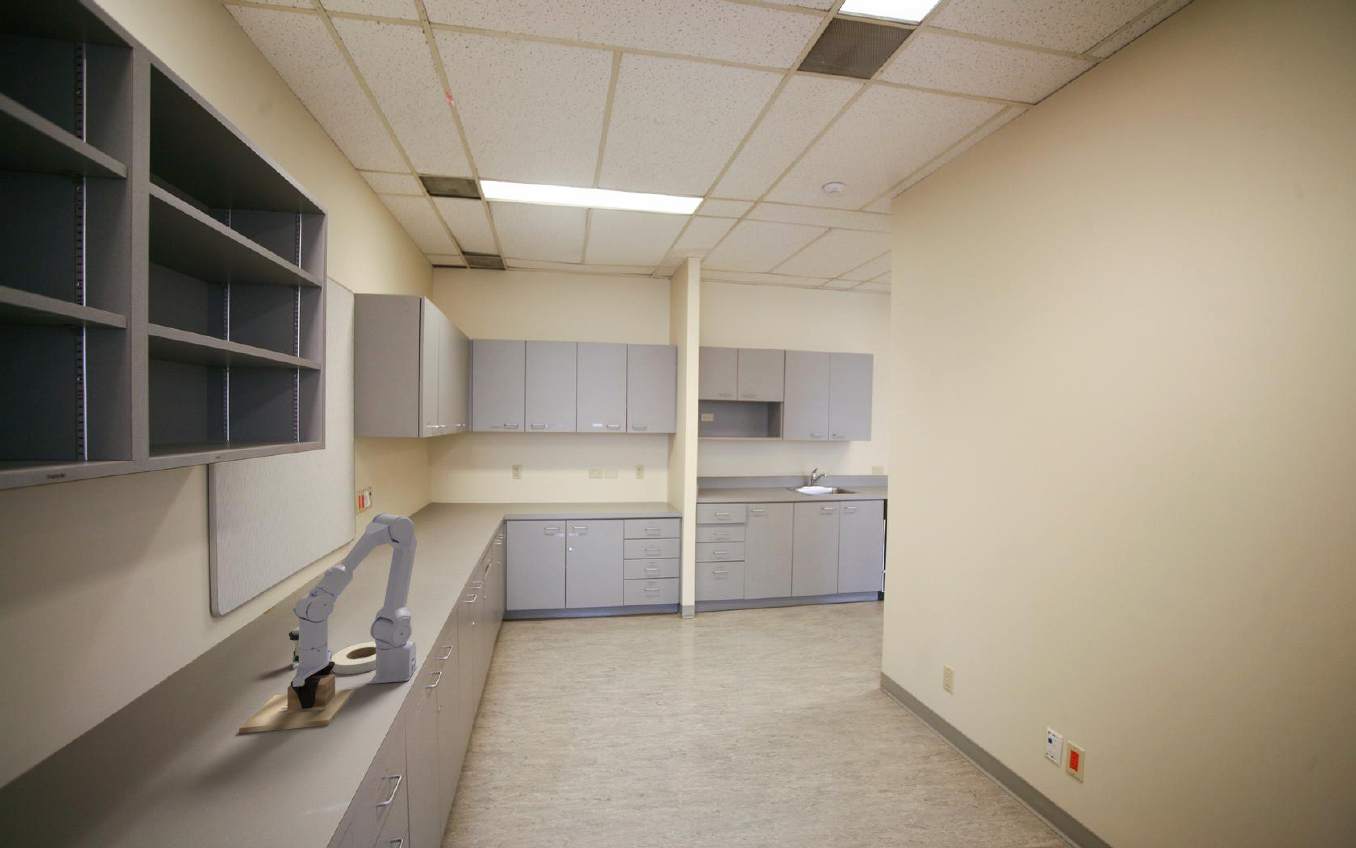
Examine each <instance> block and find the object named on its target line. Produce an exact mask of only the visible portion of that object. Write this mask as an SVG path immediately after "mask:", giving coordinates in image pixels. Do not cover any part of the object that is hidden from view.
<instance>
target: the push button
mask: <svg viewBox="0 0 1356 848" xmlns="http://www.w3.org/2000/svg"><path fill="white" fill-rule="evenodd" d="M288 636H289V640H290V641H292V642H295V645H294V646H295V648H294V651H293V657H292V664H291V665H292V667H291V668H292V669H293V666H294V665H295V664H296V663H299V626H297V627H294V628H293V629H292V630H291V631H289V633H288Z"/></svg>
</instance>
